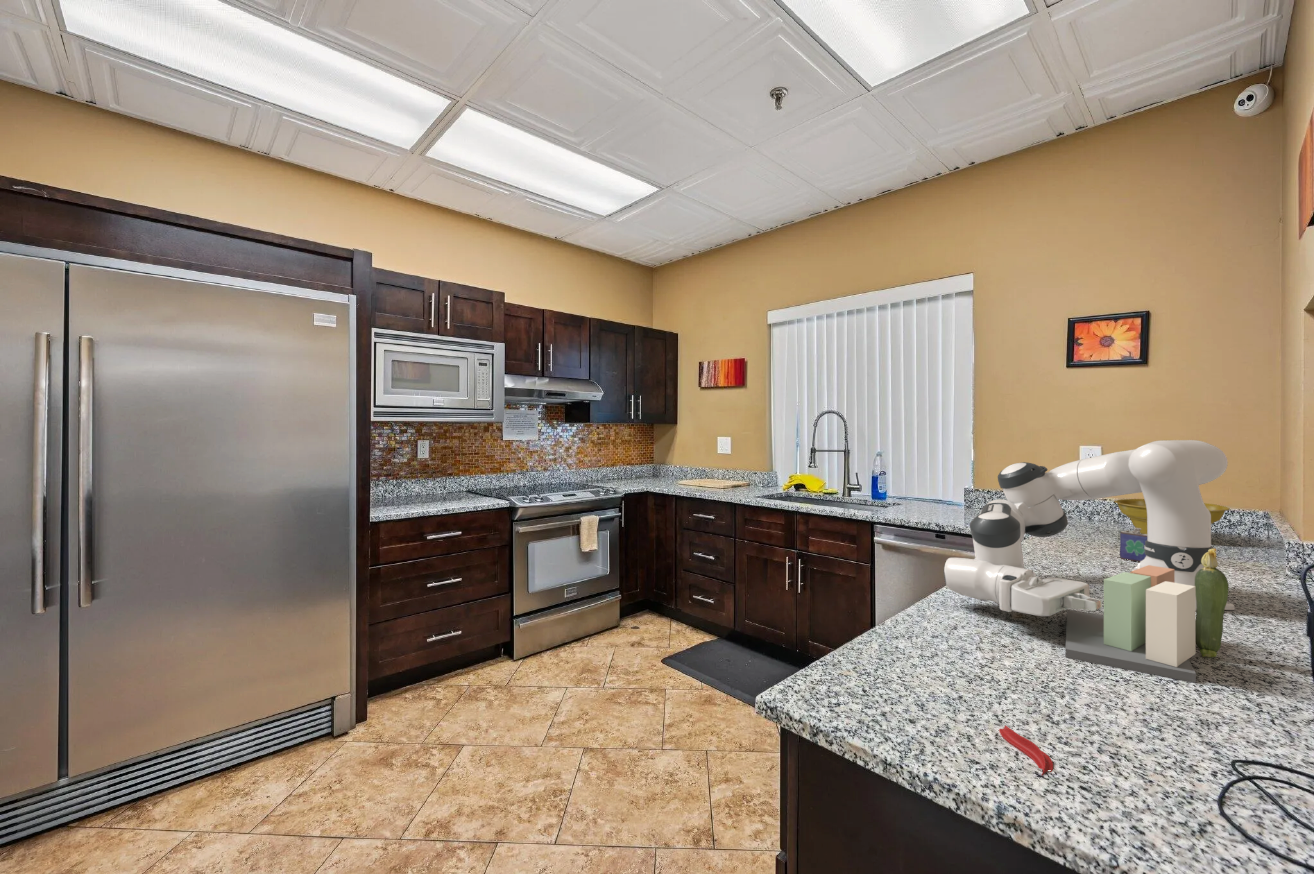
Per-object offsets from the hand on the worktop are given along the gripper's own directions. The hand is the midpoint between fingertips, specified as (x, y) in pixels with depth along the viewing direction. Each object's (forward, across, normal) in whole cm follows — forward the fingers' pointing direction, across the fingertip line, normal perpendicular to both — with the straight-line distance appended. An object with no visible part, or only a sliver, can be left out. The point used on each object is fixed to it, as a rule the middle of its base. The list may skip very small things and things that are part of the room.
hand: (1098, 605), depth 105 cm
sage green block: (+4, 0, -6) cm, 7 cm away
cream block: (+11, +2, -6) cm, 12 cm away
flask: (-21, -92, -8) cm, 95 cm away
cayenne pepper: (+9, +51, -8) cm, 52 cm away
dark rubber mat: (+3, -3, -7) cm, 8 cm away
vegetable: (+14, -9, -8) cm, 18 cm away
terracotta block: (+5, -11, -6) cm, 14 cm away
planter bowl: (-28, -150, -8) cm, 153 cm away
